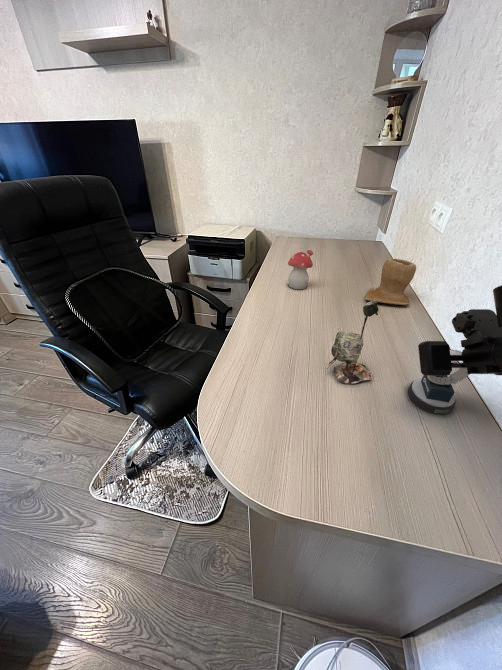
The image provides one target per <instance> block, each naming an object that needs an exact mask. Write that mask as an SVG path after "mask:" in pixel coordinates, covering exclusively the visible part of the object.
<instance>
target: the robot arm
mask: <svg viewBox="0 0 502 670" xmlns="http://www.w3.org/2000/svg"><path fill="white" fill-rule="evenodd" d="M492 294H493V301H494V307H495V311H494V310H492V309H490V308H489V309H488V308H485V309H484V308H483V309H482V308H481V309H480V308H477V309H475V308H471V309H469V310H463V311H462V312H457V313H456V314H455V316H454V317H453V318H452V319H451V324H452V326H453V329H454V331H455V332H456V333H460V334H463V336H464V338H465V339H461V340H460V347H461V348H463V349H462V351H461V352H462V355H450V349H451V348H450V344H449V343H448V342H447V341H446V340H426V341H421V342H420V343H418V345H417V346H418V347H417V348H418V358H419V368H420V373H421V374H422V375H424V376H441V375H447V376H450V375H451V374H452V371H453V369H460V368H467V373H468V374H470V375H494V376H502V285H501V284H500V285H498V286H497V287H495V288H493V289H492Z"/></svg>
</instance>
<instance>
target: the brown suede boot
mask: <svg viewBox="0 0 502 670" xmlns="http://www.w3.org/2000/svg"><path fill="white" fill-rule="evenodd" d="M416 271H417V265H416V264H415V263H414V262H412V261H408V260H407V259H403V258H402V259H401V258H394V257H393V258H392V257H391V258H390V257H389V258H387V259H386V260H385V262H384V264H383V265H382V268H381V276H380V284H379V286H378V287H376V288H368V289H367V291H366V293H365V298H364V300H365V301H368V302H371V301H373V300H375V301H376V302H377V303H381V304H388V305H397V306H398V305H399V306H407V305H409V304H410V299H409V297H408V296H407V295H406V294H405V291H406V289H407V287H408V286H409V285H410V284H411V282H412V281H413V279H414V277H415V274H416Z"/></svg>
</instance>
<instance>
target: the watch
mask: <svg viewBox="0 0 502 670" xmlns="http://www.w3.org/2000/svg"><path fill="white" fill-rule="evenodd" d="M450 355H462V351H461V350H458V349H452V348H450ZM422 375H423V374H422ZM470 375H471V374H468V373H467V368H458V370H455V372H453V373H450V375H441V376H424V375H423V376H422V377H421V378H422V380H421V383H422V386H423V390H424V393H425V396H426V399H432V400H437V401H443V402H448V403H449V401H450V399H451V398H452V396H453V395H455V393H456V391H455V389H454V387H453V385H455V384H457V383H459V382H462V381H463V380H465V379H467V377H468V376H470Z"/></svg>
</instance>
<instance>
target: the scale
mask: <svg viewBox="0 0 502 670" xmlns="http://www.w3.org/2000/svg"><path fill="white" fill-rule="evenodd" d="M422 378H423V377H419V378H416V379H414V380H412V382H410V385H409V387H408V389H407V397H408V399H409V400H410V402H411V403H412V404H413V405H415V406H416V407H417V408H418V409H420V410H422V411H423V412H426V413H428V414H433V415H441V416H442V415H447V414H449V413H450V412H451V411H452V409H454V406H455V405H456V403H457V400H456V395H455V394H454V395H453V396H452V398H451V399H450V401H449V403H448V402H443V401H437V400H432V399H426V396H425V393H424V390H423V386H422V383H421V380H422Z"/></svg>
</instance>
